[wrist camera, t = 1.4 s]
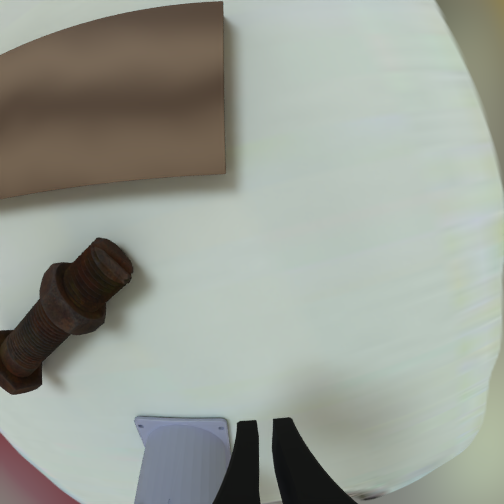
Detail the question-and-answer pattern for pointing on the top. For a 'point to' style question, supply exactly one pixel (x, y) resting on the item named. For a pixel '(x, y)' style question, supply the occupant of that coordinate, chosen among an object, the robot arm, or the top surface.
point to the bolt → (62, 312)
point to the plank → (115, 101)
